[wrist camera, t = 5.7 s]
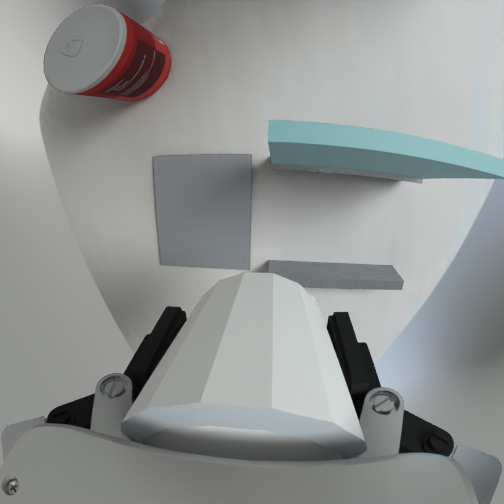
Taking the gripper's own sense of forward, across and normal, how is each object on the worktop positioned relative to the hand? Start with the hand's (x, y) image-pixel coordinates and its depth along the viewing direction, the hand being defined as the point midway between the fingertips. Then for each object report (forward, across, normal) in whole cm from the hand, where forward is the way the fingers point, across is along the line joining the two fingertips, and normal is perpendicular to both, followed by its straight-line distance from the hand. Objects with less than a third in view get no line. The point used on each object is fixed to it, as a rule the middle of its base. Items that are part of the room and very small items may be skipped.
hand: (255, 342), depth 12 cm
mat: (+20, +7, 0) cm, 21 cm away
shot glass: (+1, 0, 0) cm, 1 cm away
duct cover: (+10, -7, -6) cm, 14 cm away
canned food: (+20, +13, -16) cm, 29 cm away
